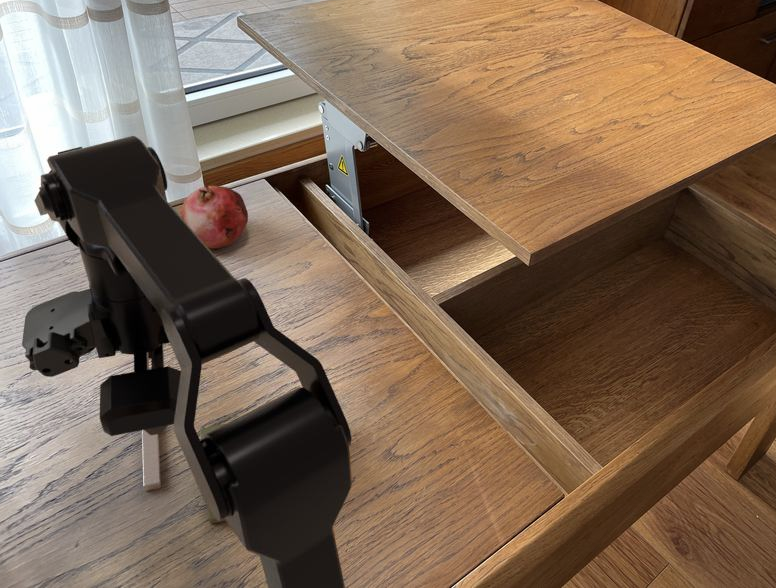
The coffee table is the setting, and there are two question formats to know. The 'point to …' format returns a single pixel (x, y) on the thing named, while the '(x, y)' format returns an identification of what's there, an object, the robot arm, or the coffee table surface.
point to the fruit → (215, 215)
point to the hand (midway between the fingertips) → (154, 393)
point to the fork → (151, 461)
